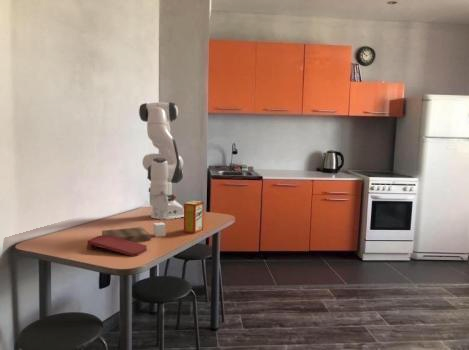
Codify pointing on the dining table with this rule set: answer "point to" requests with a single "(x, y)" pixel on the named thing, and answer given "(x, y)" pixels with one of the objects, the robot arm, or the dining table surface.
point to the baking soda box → (193, 216)
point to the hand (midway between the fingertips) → (158, 217)
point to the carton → (116, 245)
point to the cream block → (159, 229)
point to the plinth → (129, 234)
